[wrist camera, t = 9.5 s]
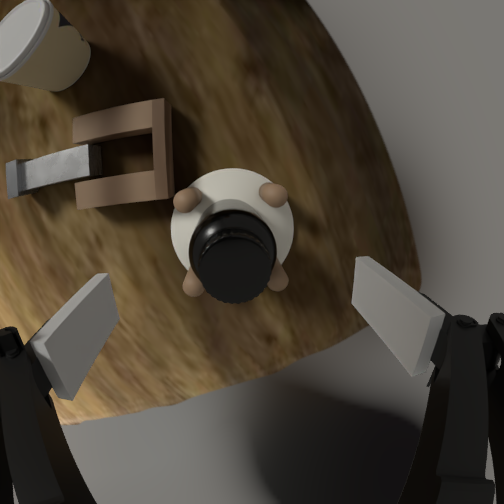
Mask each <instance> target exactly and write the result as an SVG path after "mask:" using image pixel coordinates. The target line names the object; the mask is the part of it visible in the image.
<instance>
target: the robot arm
mask: <svg viewBox="0 0 504 504" xmlns="http://www.w3.org/2000/svg"><path fill="white" fill-rule="evenodd" d="M352 304H353V306H354V307H355V308H356V309H357V310H358V312H359V313H360V314H361V315H362V316H363V318H364V319H365V320H366V321H367V322H368V324H369V325H370V326H371V327H372V328H373V330H374V331H375V332H376V333H377V334H378V336H379V337H380V338H381V339H382V341H383V342H384V343H385V344H386V346H387V347H388V348H389V349H390V350H391V352H392V353H393V354H394V355H395V357H396V358H397V359H398V361H399V362H400V363H401V364H402V366H403V367H404V368H405V369H406V371H407V372H408V373H409V375H410V376H411V377H413V376H416V375H419V374H422V373H425V372H426V370H427V368H428V365H429V363H430V360H431V361H432V362H433V363H434V364H435V368H434V370H433V372H432V375H431V377H430V380H429V382H428V384H427V386H428V387H429V386H430V384H431V386H430V392H429V398H428V403H427V408H426V413H425V418H424V422H423V426H422V431H421V435H420V439H419V442H418V446H417V449H416V453H415V456H414V460H413V463H412V466H411V469H410V472H409V475H408V478H407V480H406V483H405V486H404V489H403V491H402V494H401V496H400V499H399V501H398V503H397V504H493V500H494V494H495V487H496V501H497V504H504V314H503V313H493V314H491V316H490V319H489V321H488V324H485V325H479V324H478V322H477V321H476V320H475V319H473V318H471V317H469V316H466V315H455V316H452V315H451V314H449V313H448V312H447V311H446V310H444V309H443V308H442V307H440V306H439V305H437V304H436V303H435V302H434V301H432V300H431V299H430V298H429V297H427V296H426V295H425V294H422V293H420V292H418V291H416V290H414V289H413V288H412V287H410V286H409V285H408V284H406V283H405V282H404V281H402V280H401V279H399V278H398V277H397V276H395V275H394V274H393V273H391V272H390V271H388V270H387V269H386V268H384V267H383V266H381V265H380V264H379V263H377V262H376V261H374V260H373V259H372V258H370V257H369V256H365V257H356V264H355V275H354V285H353V295H352ZM119 319H120V318H119V314H118V311H117V307H116V303H115V299H114V295H113V291H112V286H111V282H110V277H109V273H102V274H96V275H95V276H94V277H93V278H92V279H90V280H89V281H88V282H87V283H86V284H85V285H84V286H83V287H82V288H81V289H80V290H79V291H78V292H77V293H76V294H75V295H74V296H73V297H72V298H71V299H70V300H69V301H68V302H67V303H66V304H65V305H64V306H63V307H62V308H61V309H60V310H59V311H58V312H57V313H56V314H55V315H54V316H53V317H52V318H51V319H49V320H47V321H46V323H45V324H44V325H43V326H42V328H40V329H39V330H38V331H37V333H35V334H34V335H33V336H32V338H31V339H30V340H29V341H28V342H27V343H26V344H25V345H24V344H23V342H22V340H21V338H20V335H19V333H18V330H17V328H15V327H5V328H3V329H1V330H0V504H14V498H13V485H14V488H15V492H16V495H17V499H18V502H19V504H97V503H96V501H95V500H94V498H93V496H92V494H91V493H90V491H89V489H88V487H87V485H86V483H85V481H84V479H83V477H82V475H81V473H80V471H79V469H78V467H77V465H76V462H75V460H74V458H73V456H72V453H71V451H70V449H69V446H68V444H67V441H66V439H65V436H64V433H63V431H62V428H61V425H60V422H59V419H58V416H57V413H56V410H55V407H54V403H53V400H52V398H51V396H50V395H49V391H50V390H51V388H53V389H54V391H55V393H56V395H57V396H58V398H62V399H66V400H71V401H73V399H74V397H75V395H76V393H77V391H78V390H79V388H80V386H81V384H82V382H83V380H84V379H85V377H86V375H87V373H88V371H89V369H90V368H91V366H92V364H93V362H94V361H95V359H96V357H97V355H98V354H99V352H100V350H101V349H102V347H103V345H104V344H105V342H106V340H107V339H108V337H109V335H110V334H111V332H112V330H113V329H114V327H115V325H116V324H117V322H118V321H119ZM500 358H501V366H500V368H499V367H498V365H497V364H498V362H499V360H500ZM488 438H489V443H490V448H491V454H492V460H493V467H494V476H495V484H494V482H493V480H488V479H486V478H485V469H486V460H487V448H488Z"/></svg>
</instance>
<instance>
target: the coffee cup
mask: <svg viewBox="0 0 504 504" xmlns="http://www.w3.org/2000/svg"><path fill="white" fill-rule="evenodd" d="M90 55H91V50H90V46H89V44H88V42H87V41H86V40H85V39H84V38H83V37H82V35H81V34H80V33H79V32H78V31H77V30H76V29H75V28H74V27H73V26H72V25H71V24H70V23H69V22H68V21H67V20H66V19H65V18H64V17H63V15H62V14H61V13H60V12H59V11H57V10H56V9H55V8H54V7H53V5H52V3H51V2H50V1H49V0H26V1H24V2H23V3H21V4H19V5H18V6H17V7H15V8H14V9H13V10H12V11H11V12H10V13H9V14H7V16H6V17H5V18H4V19H3V20H2V21H1V22H0V81H3V82H9V83H14V84H19V85H24V86H29V87H34V88H39V89H43V90H48V91H61V90H64V89H66V88H68V87H70V86H71V85H72V84H74V83H75V82H76V81H77V80H78V79H79V78H80V77H81V75H82V74H83V72H84V71H85V69H86V67H87V65H88V63H89V60H90Z"/></svg>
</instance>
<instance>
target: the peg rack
mask: <svg viewBox="0 0 504 504" xmlns="http://www.w3.org/2000/svg"><path fill="white" fill-rule="evenodd" d="M224 199H236V200H240V201H243V202H245V203H247V204H249V205H250V206H252V207H253V208H254V209H255V210H256V211H257V213H258V214H259V215H260V216H261V217H262V219H263V220H264V221H265V222H266V223H267V225H268V226H269V228H270V229H271V231H272V233H273V235H274V237H275V241H276V245H277V258H276V262H275V266H274V268H273V270H272V274H271V276H270V281H269V282H268V283H267V284H268V287H269V288H270V289H271V290H273V291H281V290H283V289H285V288H286V287H287V285H288V282H289V279H288V276H287V274H286V273H285V271H284V269H283V267H282V265H281V264H282V263H283V261H284V260H285V258H286V257H287V255H288V252H289V250H290V247H291V244H292V240H293V233H294V223H293V216H292V212H291V209H290V206H289V204H288V202H287V199H288V194H287V191H286V189H285V188H284V187H283V186H281V185H278V184H274V183H272V182H271V181H270V180H268V179H267V178H265V177H263V176H262V175H259V174H257V173H255V172H252V171H249V170H244V169H236V168H229V169H221V170H217V171H213V172H210V173H208V174H206V175H204V176H202V177H200V178H199V179H197V180H196V181H194V182H193V183H192V184H191V185H190V186H189V187H188V188H186V189H184V190H181V191H179V192H178V193H177V194H176V195H175V197H174V200H173V204H174V207H175V209H174V212H173V216H172V221H171V236H172V242H173V246H174V249H175V251H176V254H177V256H178V258H179V259H180V261H181V262H182V264H183V265H184V266H185V267H186V269H187V270H188V272H187V275H186V277H185V280H184V283H183V290H184V292H185V293H186V294H187V295H189V296H192V297H196V296H199V295H201V294H202V293H203V291H204V287H203V285H202V283H201V282H200V281H199V279H198V278H197V277H196V275H195V274H194V272H193V270H192V268H191V265H190V261H189V243H190V239H191V236H192V234H193V232H194V229H195V227H196V225H197V223H198V221H199V219H200V217H201V215H202V214H203V212H204V211H205V210H206V209H207V208H208V207H209V206H210V205H212V204H213V203H215V202H217V201H220V200H224Z"/></svg>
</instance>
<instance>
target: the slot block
mask: <svg viewBox="0 0 504 504" xmlns="http://www.w3.org/2000/svg"><path fill="white" fill-rule="evenodd" d="M149 133H152V136H153V160H154V170H153V171H145V172H138V173H131V174H124V175H118V176H111V177H105V178H99V179H94V180H88V181H83V182H78V183H75V192H76V202H77V210H80V209H87V208H93V207H101V206H108V205H116V204H124V203H132V202H141V201H150V200H160V199H169V198H171V197H173V196H175V185H174V170H173V150H172V120H171V105H170V104H169V103H168V102H167V101H166V99H165V98H161V99H154V100H148V101H142V102H137V103H132V104H127V105H122V106H118V107H113V108H109V109H105V110H101V111H97V112H93V113H89V114H85V115H82V116H78V117H75V118H73V144H81V145H87V144H90V145H91V144H96V143H100V142H105V141H110V140H115V139H120V138H125V137H131V136H137V135H143V134H149Z"/></svg>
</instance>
